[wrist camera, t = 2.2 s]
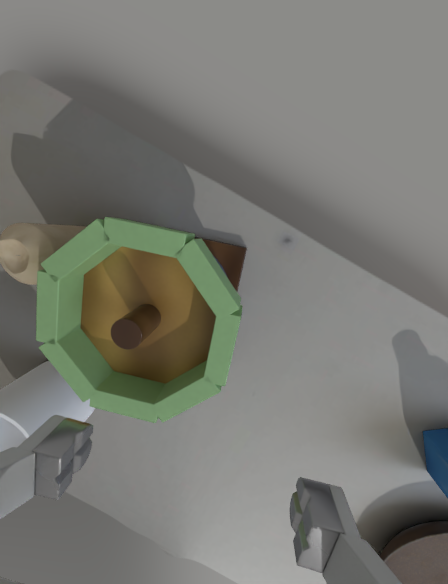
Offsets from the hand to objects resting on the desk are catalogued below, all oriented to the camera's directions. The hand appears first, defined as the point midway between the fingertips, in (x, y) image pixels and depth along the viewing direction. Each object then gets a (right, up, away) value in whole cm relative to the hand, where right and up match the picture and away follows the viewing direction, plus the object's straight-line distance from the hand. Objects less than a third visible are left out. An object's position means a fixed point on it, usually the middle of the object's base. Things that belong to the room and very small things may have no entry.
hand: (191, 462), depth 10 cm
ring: (-6, +4, +11) cm, 13 cm away
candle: (-16, +12, +21) cm, 29 cm away
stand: (-5, +6, +21) cm, 23 cm away
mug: (-22, -9, +27) cm, 36 cm away
